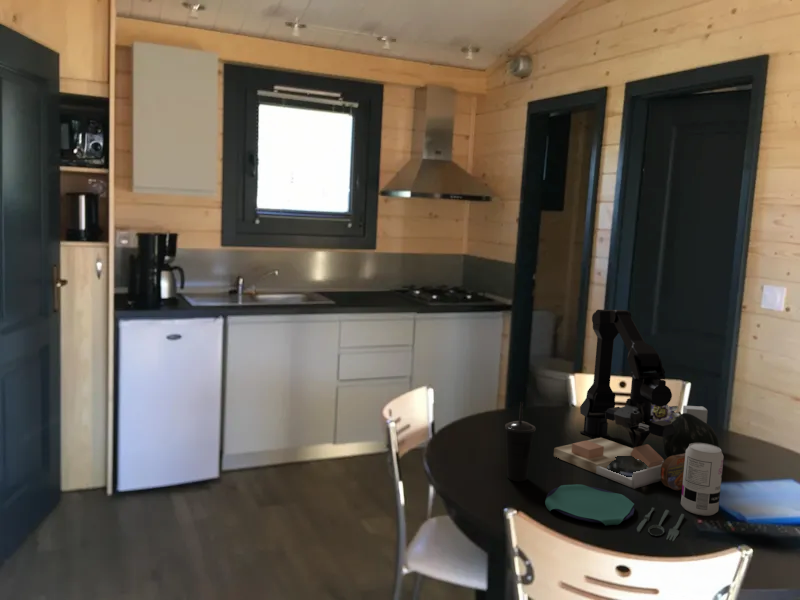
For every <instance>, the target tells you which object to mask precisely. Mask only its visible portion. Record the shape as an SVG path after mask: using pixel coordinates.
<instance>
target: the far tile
mask: <svg viewBox="0 0 800 600" xmlns="http://www.w3.org/2000/svg"><path fill="white" fill-rule="evenodd" d="M631 455H632V456H633V457H634V458H635V459H639V460H641V461H642V462H644V463H645V464H646V465H647V466H648V467H649V468H650V467H654V466H658V465H661V463H662V462H663V461H665V459H664V458H663V457H662V456H661V455H660V454H659V453H658V452H657V451H656V450H655V449H654V448H653V447H652V446H651V445H650V444H648V443H647V444H642V446H638V447H634V449H633V450H632V452H631Z"/></svg>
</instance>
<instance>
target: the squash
mask: <svg viewBox="0 0 800 600" xmlns="http://www.w3.org/2000/svg"><path fill="white" fill-rule="evenodd" d="M671 423H672V424H673V425H674V428H675V430H674V434H672V435H668V436H664V437H662V445H663V446H662V448H663V452H664V455H665V457H666V458H668V457H670V456H674V455H679V454H684V453H686V449H687V448H688V447H689V444H691V443H705V444H710V445H714V446H717V447H719V446H720V445H719V440H718V436H717V434H716V433H715V432H716V431H715V430H714V429H713V427H712V426H711V425H710V424H708V423H705V422H704V421H702V420H701V419H699V418H697V417H696V416H694V415H691V414H689V413H683V412H682V413H681V415H680V416H679V417H678V418H677V419H676V420H674V421H673V422H671ZM719 448H720V447H719Z"/></svg>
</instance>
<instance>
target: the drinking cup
mask: <svg viewBox="0 0 800 600" xmlns="http://www.w3.org/2000/svg"><path fill="white" fill-rule="evenodd" d="M523 407H524V401H520V404H519V418H518V419H519V420H514V421H510V422H507V423H505V426H504V428H505V435H506V436H505V438H506V464H507V465H506V467H507V468H506V470H507V479H508V478H509V480H510V481H512V480H513V482H525V481H527V478H528V472H529V465H530V460H531V459H530V458H531V455H532V454H531V453H532V446H533V441H534V436H535V435H534V433H535V431H536V426H535V425H533V424H531V423H529V422H527V421H524V420H523V410H524V409H523Z"/></svg>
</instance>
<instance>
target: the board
mask: <svg viewBox="0 0 800 600" xmlns="http://www.w3.org/2000/svg"><path fill="white" fill-rule="evenodd" d="M587 441H590V442H593V443H595V444H598V445H601V446H604V451H603V455H602V456H598V457H594V458H590V459H588V458H585V457H582V456H580V455H577V454H574V453H572V444H573V443H569V444H566V445H560V446H556V447H554V449H553V457H554V458H556V457H557V458H556V459H558V458H559V459H558V460H561V461H564V462H566V463H569V464H572V465H573V466H576V467H578V468H581V469H584V470H586V471H589V472H591V473H594V474H596V467H597V466H601V467H603V468H606V469H607V466H608V465H609V464H610V463H611V462H612V461H614V460H616V458H615V457H617V456H632V455H631V452H632V450H633V447H630V446H627V445H624V444H621V443H618V442H615V441H613V440H611V439H610V440H609V439H607V438H604V437H601V438H592V439H588V440H587ZM632 457H633V456H632Z"/></svg>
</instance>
